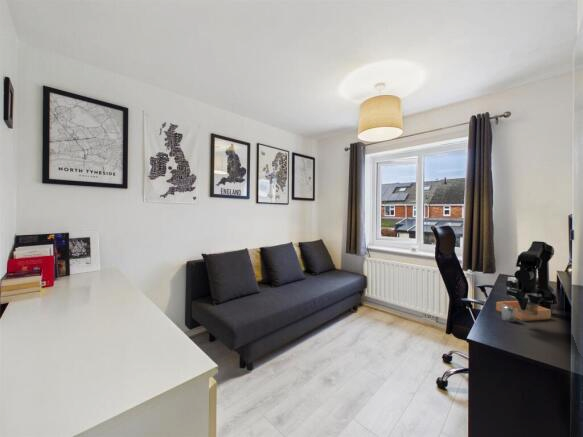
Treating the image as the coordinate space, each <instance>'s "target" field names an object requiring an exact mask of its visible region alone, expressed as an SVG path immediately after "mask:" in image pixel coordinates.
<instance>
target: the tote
mask: <svg viewBox="0 0 583 437" xmlns="http://www.w3.org/2000/svg"><path fill="white" fill-rule="evenodd" d="M502 305H508V306H512V307H514V308H515V320H518V321H521V322H526V321H541V320H551V319H552V314H551V310H550V309H547V308H544V307H541V306H538V314H537V315H526V314H524V313H521V312H518V300H506V301H496V306H495V310H496V311H497V312H500V313H501V314H502Z"/></svg>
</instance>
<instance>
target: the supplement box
mask: <svg viewBox="0 0 583 437" xmlns="http://www.w3.org/2000/svg"><path fill="white" fill-rule="evenodd" d="M507 281H512V282H518V280H517V279H516V278H515V276H510V277H509V276H508V277H507ZM508 289H509V287H507V290H508ZM512 289H514V288H512ZM516 290H517V289H516ZM519 291H521V290H519ZM508 296H509V297H512V298H514V299H516V298H515V297H513V296H510V295H508Z"/></svg>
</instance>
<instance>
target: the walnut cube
mask: <svg viewBox="0 0 583 437" xmlns="http://www.w3.org/2000/svg"><path fill="white" fill-rule="evenodd" d="M518 312H521V313H524V314H526V315H537V314H538V305H537V304H534V303H531V302H528V303H527V305H526V308H525V310H521V307H520V305H519V302H518Z"/></svg>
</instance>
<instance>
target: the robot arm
mask: <svg viewBox="0 0 583 437" xmlns="http://www.w3.org/2000/svg"><path fill="white" fill-rule="evenodd" d="M554 255H555V249H554V247H553V246H552V245H550V244H547V242H546V241H538V240H537V241H536V240H534V241H532V243H531V244H530V247H529V248H528V249H527V251H522V252H521V253H519V254H518V256H517V260H516V264H515V267H516V268H519V269H517V270H516V271H515V272H514V277H515V278H516V279H517V280H518V282H512V281H508V280H506V281H505V286H506V287H507V289H506V290H505V291H506V296H507V295H508V296H509V295H510V296H509V297H511V296H513V297H512V298H514V297H515V298H514V299H516V301H518V302H519V305H520V307H521V310H525V308H526V305H527V303H528V300H529V298H530V302H531V303H534V304H537V305H538V306H541V307H544V308H547V309H550V310H551V315H556V312H553V306H554V305H558V297H557V295H556V293H555V292H554V291H555V290H554V288H553V287H552V286H551V285H550V263H549V262H550V260H551V259H552V258H553V256H554ZM537 278H538V282H537ZM536 284H538V286H537V287H536ZM508 287H509V289H508ZM512 288H514V289H512ZM516 289H517V290H516ZM519 290H521V291H519ZM526 295H528V296H529V298H526Z"/></svg>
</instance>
